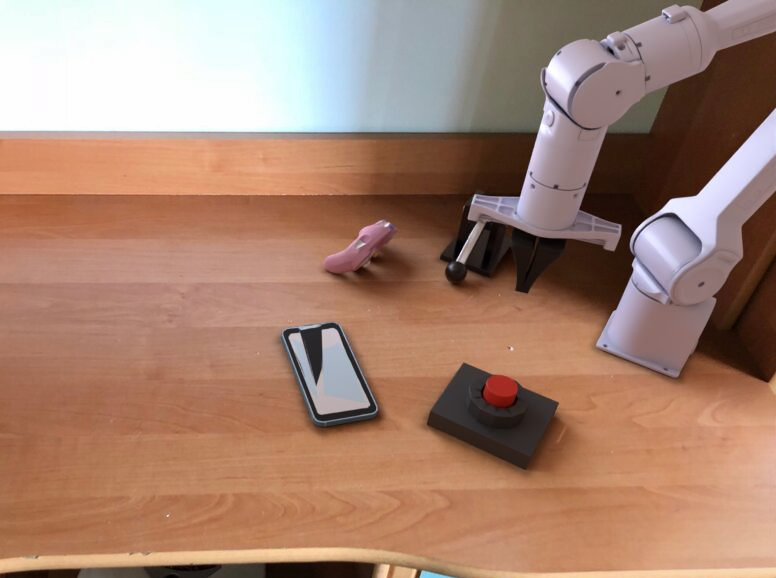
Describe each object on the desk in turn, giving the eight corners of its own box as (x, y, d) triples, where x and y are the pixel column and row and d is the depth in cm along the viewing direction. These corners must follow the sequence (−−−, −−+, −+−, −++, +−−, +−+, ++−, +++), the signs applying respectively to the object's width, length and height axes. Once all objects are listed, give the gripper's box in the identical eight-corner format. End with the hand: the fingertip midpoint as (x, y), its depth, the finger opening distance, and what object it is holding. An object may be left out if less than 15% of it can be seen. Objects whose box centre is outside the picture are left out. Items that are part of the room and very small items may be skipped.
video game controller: (342, 291, 103) (369, 261, 97) (318, 266, 103) (343, 235, 97) (383, 256, 108) (410, 226, 103) (359, 232, 109) (385, 201, 103)
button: (518, 394, 83) (522, 382, 82) (507, 413, 81) (511, 401, 80) (489, 382, 84) (493, 370, 83) (478, 400, 82) (481, 388, 81)
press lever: (461, 290, 102) (461, 280, 99) (441, 282, 103) (440, 272, 100) (501, 215, 104) (501, 203, 101) (481, 208, 105) (481, 197, 102)
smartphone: (314, 424, 83) (278, 329, 93) (314, 430, 84) (278, 334, 94) (381, 412, 84) (338, 320, 94) (380, 418, 85) (338, 326, 95)
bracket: (488, 278, 103) (502, 228, 98) (439, 260, 106) (450, 210, 100) (513, 245, 109) (527, 196, 103) (465, 228, 111) (477, 179, 106)
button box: (553, 416, 86) (564, 390, 83) (525, 470, 81) (535, 445, 78) (459, 375, 90) (466, 350, 87) (426, 424, 84) (432, 399, 82)
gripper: (638, 169, 77) (594, 281, 86) (488, 140, 80) (462, 251, 90) (636, 207, 72) (589, 320, 82) (477, 174, 75) (450, 287, 85)
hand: (522, 287), depth 85 cm, fingers closed
